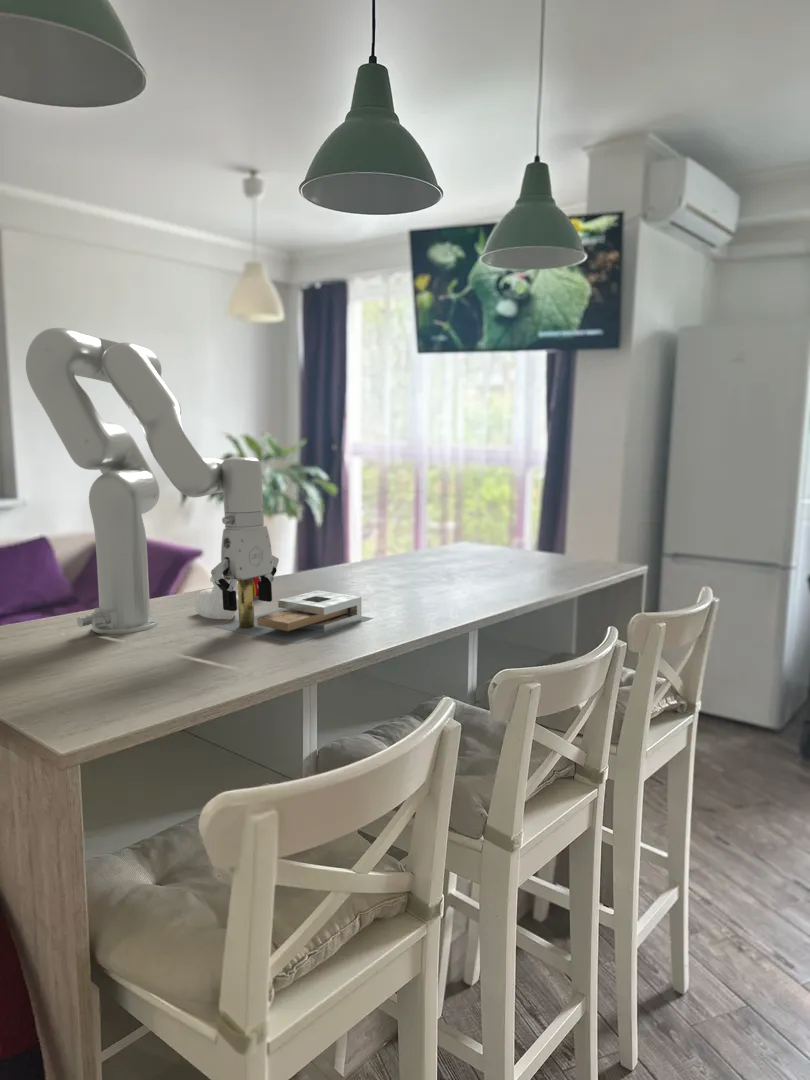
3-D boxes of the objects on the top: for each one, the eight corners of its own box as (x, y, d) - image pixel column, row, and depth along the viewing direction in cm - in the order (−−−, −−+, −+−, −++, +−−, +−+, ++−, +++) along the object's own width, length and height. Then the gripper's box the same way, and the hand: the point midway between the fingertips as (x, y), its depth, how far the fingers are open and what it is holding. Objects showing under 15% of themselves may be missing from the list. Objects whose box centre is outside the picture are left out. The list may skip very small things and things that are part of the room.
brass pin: (246, 629, 150) (245, 579, 149) (236, 627, 152) (234, 577, 151) (257, 626, 153) (256, 577, 152) (246, 624, 155) (245, 575, 153)
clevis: (296, 641, 141) (295, 615, 140) (250, 632, 148) (249, 607, 147) (361, 620, 158) (361, 596, 157) (317, 612, 164) (316, 590, 164)
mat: (296, 646, 140) (296, 643, 140) (214, 629, 152) (214, 627, 152) (373, 620, 160) (373, 618, 159) (295, 607, 172) (295, 605, 172)
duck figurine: (242, 630, 160) (262, 583, 164) (221, 615, 154) (243, 566, 159) (200, 623, 166) (222, 578, 171) (179, 608, 160) (201, 562, 165)
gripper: (224, 526, 140) (228, 616, 143) (288, 517, 155) (291, 599, 157) (197, 524, 145) (201, 611, 147) (261, 515, 159) (265, 595, 161)
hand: (248, 605), depth 152 cm, fingers open, 9 cm apart
